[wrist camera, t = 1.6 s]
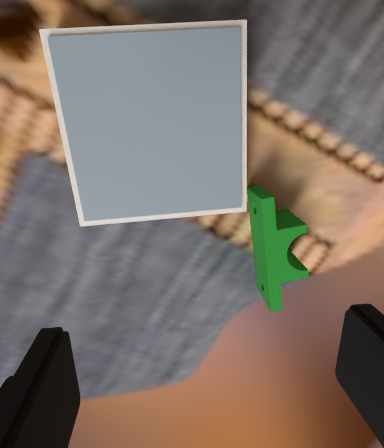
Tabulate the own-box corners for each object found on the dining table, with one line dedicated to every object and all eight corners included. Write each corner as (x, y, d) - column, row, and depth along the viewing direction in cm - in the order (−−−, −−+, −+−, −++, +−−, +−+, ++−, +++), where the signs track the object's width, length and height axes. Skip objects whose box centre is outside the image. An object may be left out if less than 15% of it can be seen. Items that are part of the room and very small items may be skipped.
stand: (54, 39, 23) (37, 28, 19) (236, 30, 23) (247, 18, 20) (88, 214, 27) (79, 227, 24) (238, 201, 28) (247, 212, 25)
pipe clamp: (290, 279, 32) (309, 304, 28) (256, 285, 32) (270, 312, 28) (284, 178, 28) (306, 191, 24) (246, 186, 28) (261, 199, 24)
